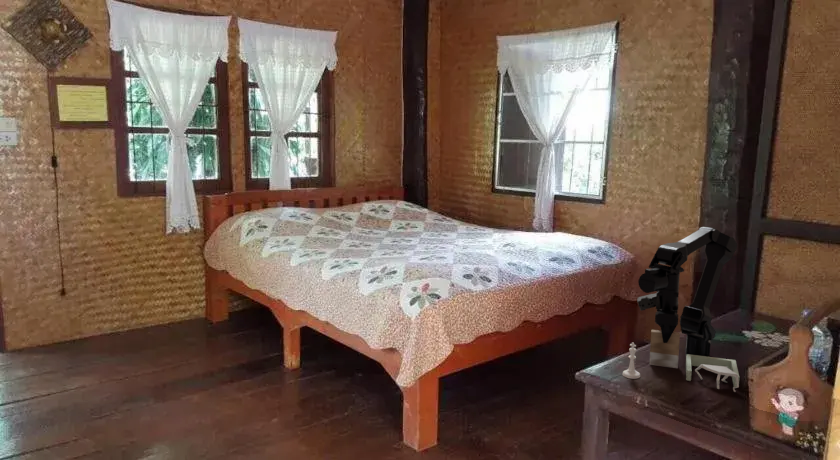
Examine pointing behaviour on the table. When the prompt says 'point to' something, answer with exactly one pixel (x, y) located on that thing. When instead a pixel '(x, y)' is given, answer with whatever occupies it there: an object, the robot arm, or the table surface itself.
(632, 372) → the chess piece
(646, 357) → the table surface
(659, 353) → the two-tone wooden slab
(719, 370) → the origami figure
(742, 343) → the table surface
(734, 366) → the green c-shaped bracket
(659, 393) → the table surface
